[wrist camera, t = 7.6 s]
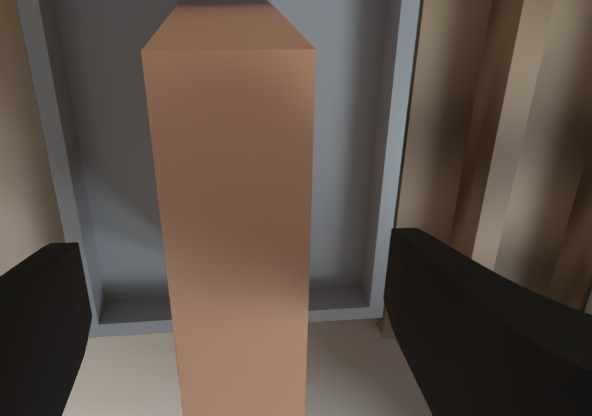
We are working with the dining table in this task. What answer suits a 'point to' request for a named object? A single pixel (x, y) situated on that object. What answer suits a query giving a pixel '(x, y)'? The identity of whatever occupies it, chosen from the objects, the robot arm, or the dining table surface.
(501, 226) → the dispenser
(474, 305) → the robot arm
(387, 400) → the dining table surface
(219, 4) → the tan flat block
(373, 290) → the tray
